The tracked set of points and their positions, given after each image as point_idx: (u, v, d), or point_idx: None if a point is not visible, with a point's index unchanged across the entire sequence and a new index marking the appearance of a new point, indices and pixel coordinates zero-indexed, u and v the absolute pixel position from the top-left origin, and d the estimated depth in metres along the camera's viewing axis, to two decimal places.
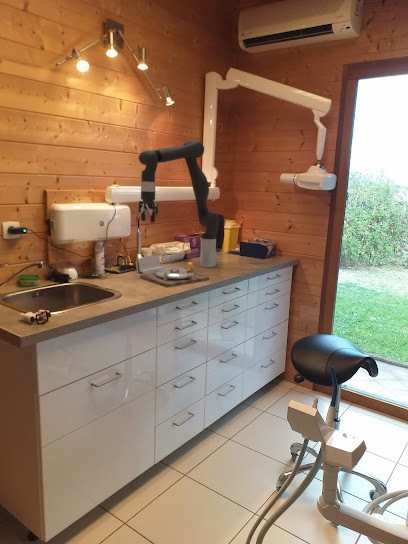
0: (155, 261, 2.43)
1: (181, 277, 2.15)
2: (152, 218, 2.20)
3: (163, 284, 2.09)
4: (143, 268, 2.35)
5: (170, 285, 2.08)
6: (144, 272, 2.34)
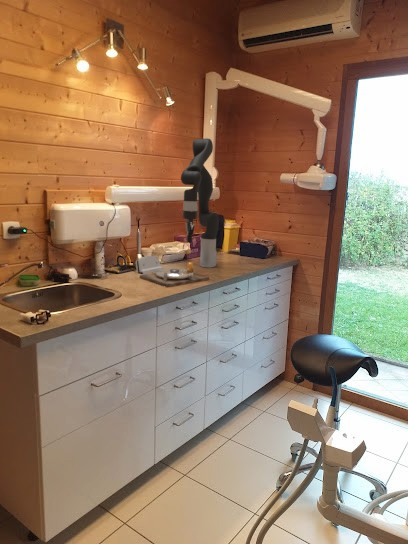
0: (155, 261, 2.43)
1: (181, 277, 2.15)
2: None
3: (163, 284, 2.09)
4: (143, 268, 2.35)
5: (170, 285, 2.08)
6: (144, 272, 2.33)
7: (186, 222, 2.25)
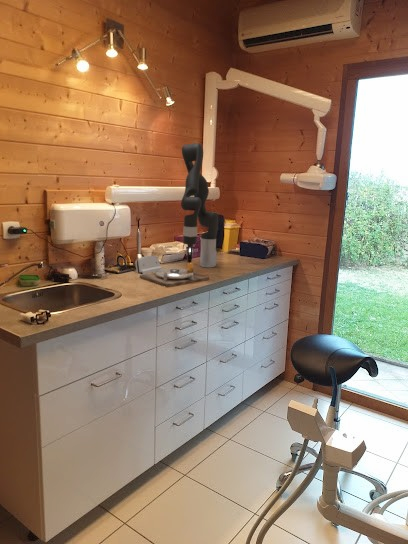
0: (154, 261, 2.42)
1: (181, 277, 2.15)
2: None
3: (163, 284, 2.09)
4: (143, 268, 2.35)
5: (170, 285, 2.08)
6: (144, 272, 2.33)
7: None
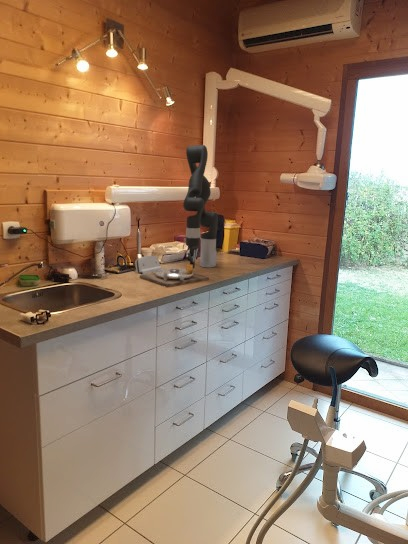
0: (154, 261, 2.42)
1: (170, 277, 2.14)
2: (194, 264, 2.25)
3: (163, 284, 2.09)
4: (143, 268, 2.35)
5: (170, 285, 2.08)
6: (144, 272, 2.33)
7: None
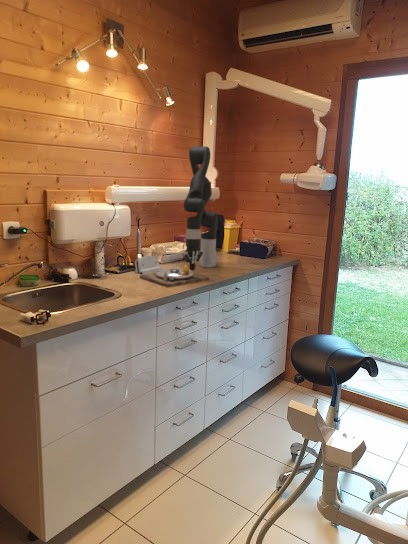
0: (154, 261, 2.42)
1: (163, 276, 2.16)
2: None
3: (163, 284, 2.09)
4: (142, 268, 2.34)
5: (170, 285, 2.08)
6: (144, 272, 2.33)
7: None
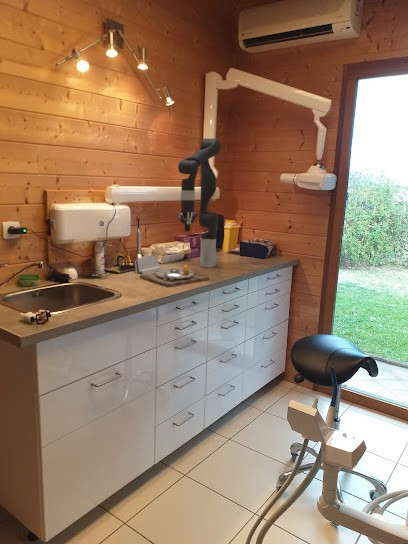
0: (153, 261, 2.42)
1: (163, 276, 2.16)
2: (189, 227, 2.29)
3: (163, 284, 2.09)
4: (142, 268, 2.34)
5: (170, 285, 2.08)
6: (143, 272, 2.33)
7: None
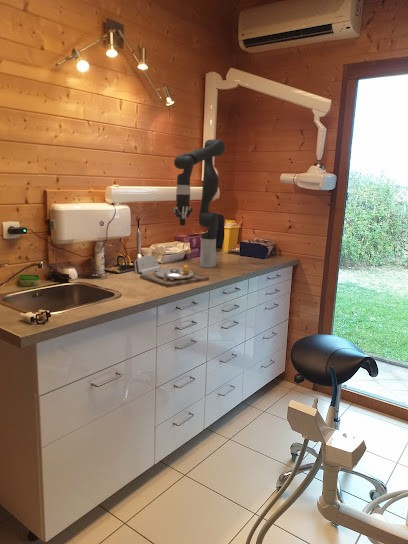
0: (153, 261, 2.42)
1: (163, 276, 2.16)
2: None
3: (163, 284, 2.09)
4: (142, 268, 2.34)
5: (170, 285, 2.08)
6: (143, 272, 2.33)
7: None
